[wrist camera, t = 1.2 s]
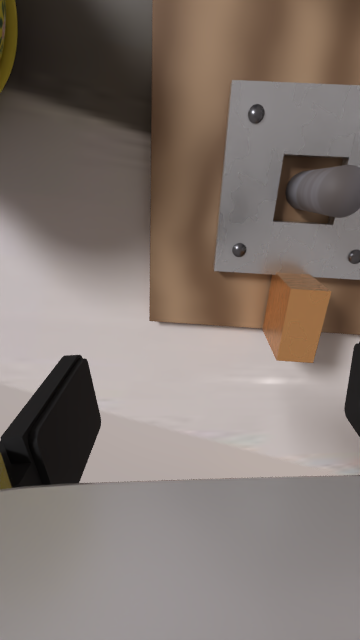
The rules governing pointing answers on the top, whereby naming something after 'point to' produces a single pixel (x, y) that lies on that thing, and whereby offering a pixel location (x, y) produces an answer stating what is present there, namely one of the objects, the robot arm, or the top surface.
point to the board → (209, 144)
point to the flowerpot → (7, 39)
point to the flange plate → (260, 199)
